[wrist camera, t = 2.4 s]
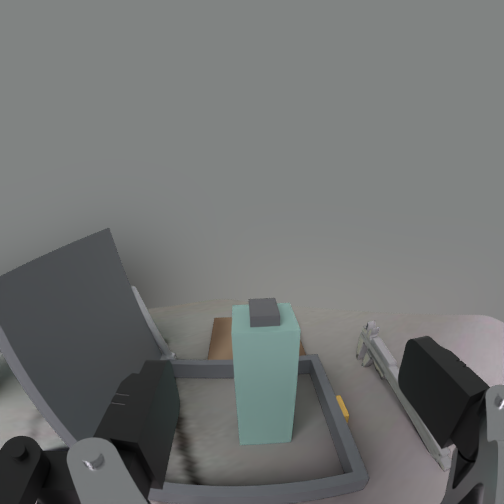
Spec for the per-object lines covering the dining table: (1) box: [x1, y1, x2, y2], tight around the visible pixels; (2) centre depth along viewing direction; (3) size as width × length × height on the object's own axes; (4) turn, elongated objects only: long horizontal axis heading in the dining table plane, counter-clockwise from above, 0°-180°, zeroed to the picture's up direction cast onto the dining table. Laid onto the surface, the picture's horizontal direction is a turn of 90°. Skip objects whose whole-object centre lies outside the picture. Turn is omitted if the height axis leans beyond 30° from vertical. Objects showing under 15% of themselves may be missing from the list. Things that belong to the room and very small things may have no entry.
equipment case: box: [0, 228, 369, 504], centre depth 21 cm, size 24×19×18 cm
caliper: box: [356, 321, 451, 471], centre depth 23 cm, size 20×1×6 cm, turn 8°
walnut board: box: [208, 317, 306, 360], centre depth 39 cm, size 12×12×1 cm
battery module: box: [231, 298, 301, 445], centre depth 22 cm, size 4×4×13 cm
